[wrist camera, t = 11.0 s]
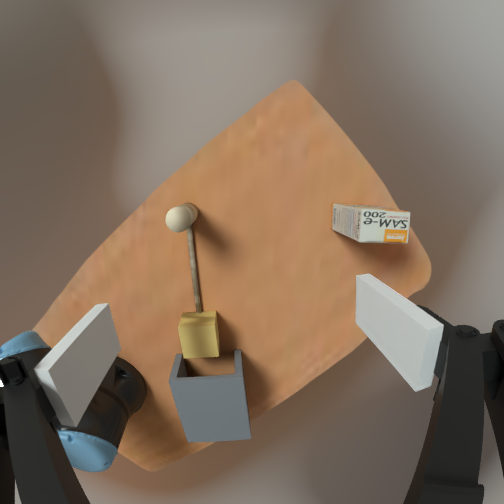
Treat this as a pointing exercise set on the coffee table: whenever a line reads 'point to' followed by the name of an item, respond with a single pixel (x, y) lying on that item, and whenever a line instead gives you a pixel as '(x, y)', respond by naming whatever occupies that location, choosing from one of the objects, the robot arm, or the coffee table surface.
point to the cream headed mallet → (194, 323)
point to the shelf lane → (211, 403)
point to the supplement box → (371, 223)
